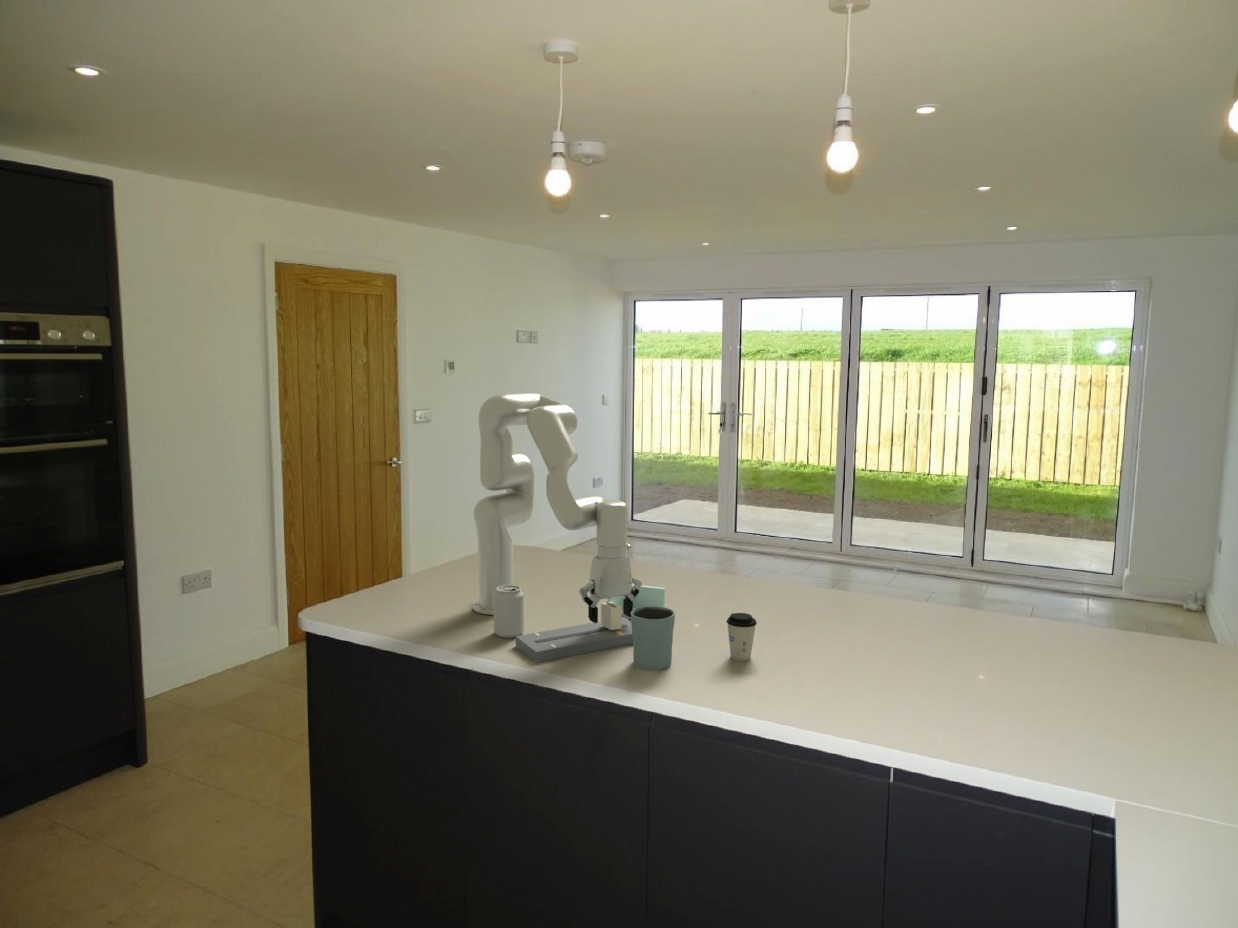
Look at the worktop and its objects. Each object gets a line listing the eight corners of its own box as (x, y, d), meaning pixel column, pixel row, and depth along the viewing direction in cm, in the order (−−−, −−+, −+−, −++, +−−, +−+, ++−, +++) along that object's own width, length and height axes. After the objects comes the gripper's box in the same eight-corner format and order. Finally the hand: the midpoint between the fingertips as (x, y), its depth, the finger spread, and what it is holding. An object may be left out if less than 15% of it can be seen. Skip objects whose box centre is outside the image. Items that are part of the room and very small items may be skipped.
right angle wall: (607, 622, 218) (607, 594, 217) (623, 609, 229) (624, 583, 228) (650, 628, 214) (650, 600, 213) (664, 614, 225) (665, 588, 224)
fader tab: (600, 624, 205) (601, 602, 204) (611, 622, 207) (611, 600, 206) (610, 630, 201) (611, 608, 200) (621, 628, 202) (621, 606, 202)
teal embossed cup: (643, 674, 181) (644, 621, 179) (622, 659, 190) (622, 609, 188) (682, 666, 186) (683, 615, 184) (660, 652, 195) (660, 603, 193)
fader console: (515, 646, 198) (515, 635, 197) (623, 626, 213) (623, 616, 212) (536, 662, 187) (536, 651, 187) (647, 640, 202) (647, 630, 202)
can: (518, 639, 202) (518, 592, 200) (489, 637, 204) (488, 590, 202) (527, 630, 209) (527, 584, 208) (499, 628, 211) (499, 582, 209)
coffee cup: (758, 654, 194) (759, 613, 193) (752, 664, 187) (754, 622, 186) (728, 650, 196) (729, 609, 195) (722, 660, 190) (723, 618, 188)
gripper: (633, 544, 209) (632, 609, 211) (573, 551, 200) (572, 619, 202) (649, 550, 202) (648, 617, 205) (587, 558, 194) (586, 628, 196)
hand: (610, 618), depth 203 cm, fingers open, 9 cm apart
